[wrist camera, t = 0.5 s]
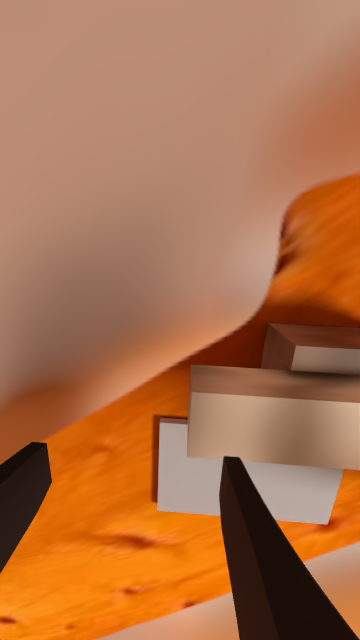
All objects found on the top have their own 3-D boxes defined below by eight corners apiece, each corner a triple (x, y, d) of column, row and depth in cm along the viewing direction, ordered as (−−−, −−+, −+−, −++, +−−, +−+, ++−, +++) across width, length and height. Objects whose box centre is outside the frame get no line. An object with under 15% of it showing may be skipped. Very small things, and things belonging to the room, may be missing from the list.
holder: (381, 329, 16) (461, 358, 12) (353, 420, 18) (411, 477, 14) (267, 322, 17) (299, 348, 12) (253, 414, 19) (275, 467, 14)
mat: (349, 430, 19) (354, 436, 18) (323, 517, 21) (327, 524, 21) (160, 417, 19) (159, 422, 19) (158, 503, 22) (157, 510, 21)
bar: (389, 376, 14) (443, 408, 11) (371, 431, 15) (415, 474, 12) (191, 364, 14) (191, 392, 11) (187, 418, 15) (187, 457, 12)
